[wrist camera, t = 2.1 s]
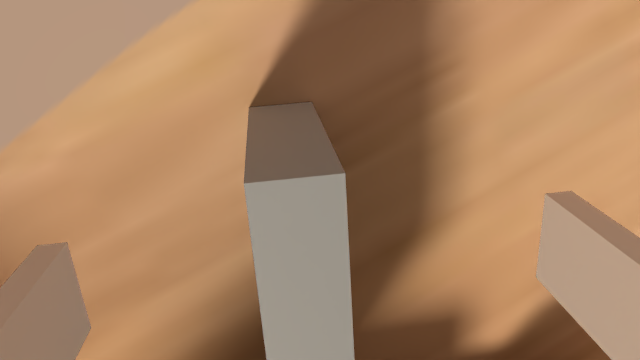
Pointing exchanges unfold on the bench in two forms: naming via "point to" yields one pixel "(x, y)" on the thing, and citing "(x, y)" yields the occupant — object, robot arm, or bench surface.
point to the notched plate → (298, 234)
